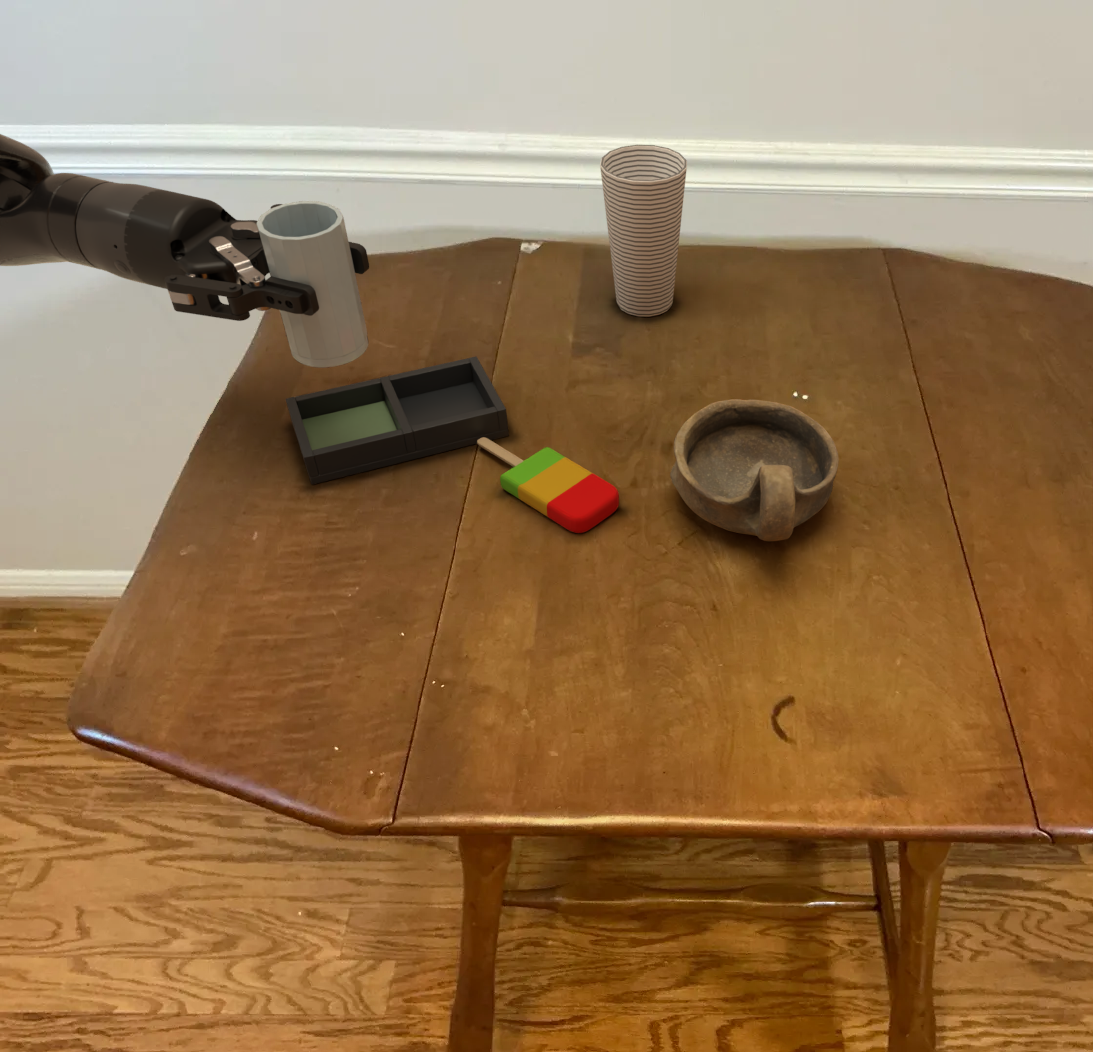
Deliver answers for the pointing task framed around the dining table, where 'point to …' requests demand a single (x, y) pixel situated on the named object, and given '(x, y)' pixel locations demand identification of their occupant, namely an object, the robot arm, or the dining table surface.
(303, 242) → the tumbler
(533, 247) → the dining table surface
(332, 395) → the tray
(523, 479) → the popsicle
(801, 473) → the bowl
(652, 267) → the cup
